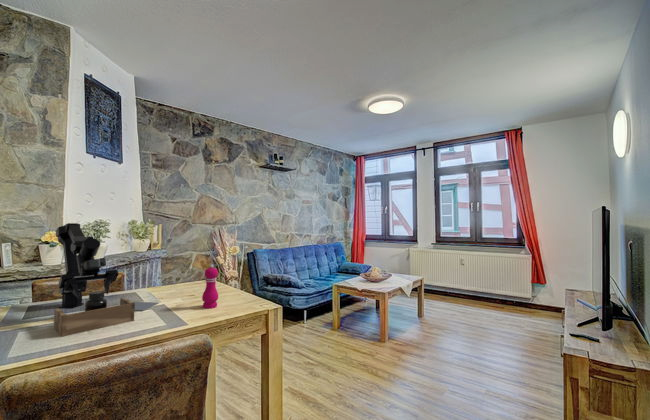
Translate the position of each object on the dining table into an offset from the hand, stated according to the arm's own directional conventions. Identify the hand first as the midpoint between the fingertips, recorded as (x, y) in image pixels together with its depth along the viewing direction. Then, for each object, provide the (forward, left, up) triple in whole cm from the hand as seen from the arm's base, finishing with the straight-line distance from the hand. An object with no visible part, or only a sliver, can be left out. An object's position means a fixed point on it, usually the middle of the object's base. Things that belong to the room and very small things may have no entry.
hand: (93, 295), depth 120 cm
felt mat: (+5, +21, -10) cm, 24 cm away
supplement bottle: (+3, -2, -10) cm, 11 cm away
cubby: (+3, -2, -10) cm, 11 cm away
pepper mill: (+37, +25, -10) cm, 46 cm away
